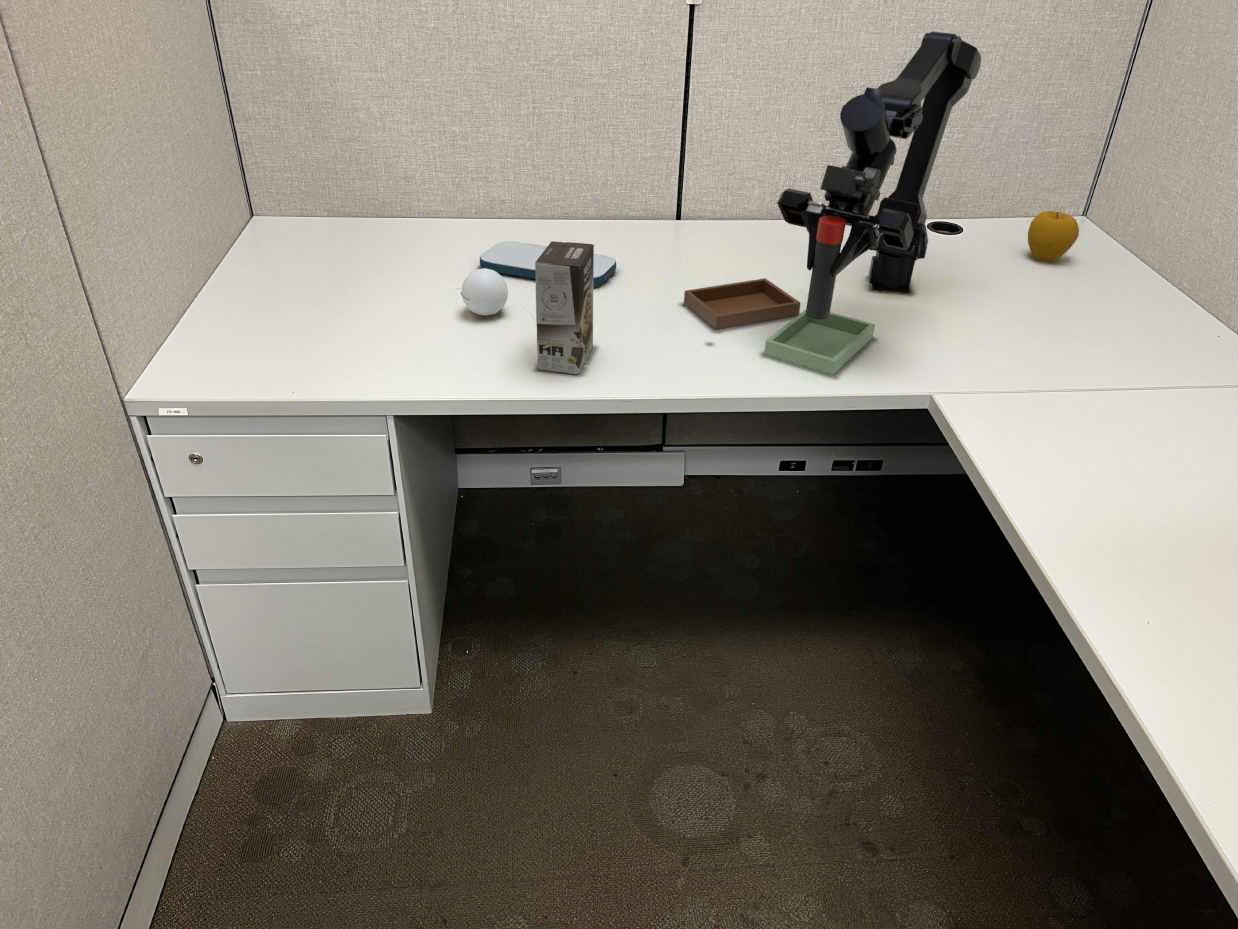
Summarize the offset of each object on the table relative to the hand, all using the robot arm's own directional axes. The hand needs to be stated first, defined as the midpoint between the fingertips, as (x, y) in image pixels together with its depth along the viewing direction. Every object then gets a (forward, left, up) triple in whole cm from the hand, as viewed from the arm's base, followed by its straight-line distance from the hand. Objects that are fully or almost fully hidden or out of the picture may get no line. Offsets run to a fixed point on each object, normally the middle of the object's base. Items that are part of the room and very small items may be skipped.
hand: (820, 271), depth 122 cm
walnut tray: (+10, -15, -13) cm, 23 cm away
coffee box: (+35, +7, -14) cm, 38 cm away
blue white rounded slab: (+45, -26, -14) cm, 54 cm away
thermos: (-1, -1, -7) cm, 7 cm away
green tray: (-2, -4, -13) cm, 14 cm away
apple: (-46, -51, -14) cm, 70 cm away
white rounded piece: (+52, -6, -14) cm, 54 cm away
